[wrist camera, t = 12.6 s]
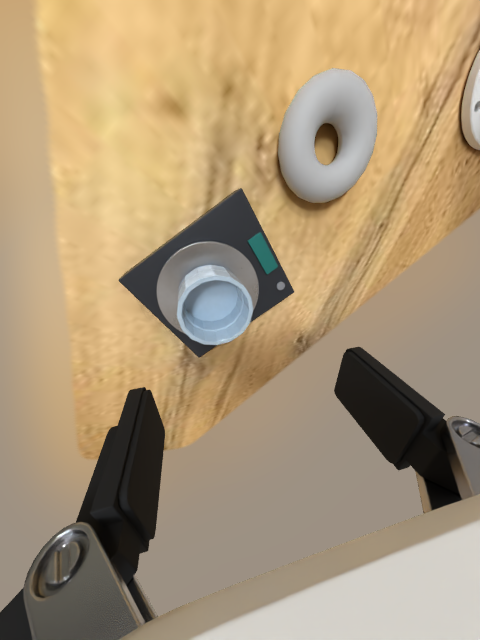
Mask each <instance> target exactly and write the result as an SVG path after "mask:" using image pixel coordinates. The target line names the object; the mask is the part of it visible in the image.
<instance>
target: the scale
mask: <svg viewBox="0 0 480 640" xmlns="http://www.w3.org/2000/svg"><path fill="white" fill-rule="evenodd" d="M200 241H216V242H221V243H224V244H227V245H229V246H232V247H233V248H235V249H236V250H238V251H239V252H241V253H242V254H243V255H244V256H245V257H246V258H247V259H248V260H249V262H250V263H251V264H252V266H253V268H254V270H255V272H256V275H257V279H258V284H259V294H258V300H257V303H256V306H255V308H254V311H253V313H252V317H251V321H250V322H252V321H253V320H255V319H256V318H257V317H259V316H260V315H262V314H263V313H265V312H266V311H268V310H269V309H270V308H272V307H273V306H275V305H276V304H278V303H279V302H281V301H282V300H284V299H285V298H286V297H288V296H289V295H291V294H292V293H294V290H293V288H292V286H291V284H290V282H289V280H288V278H287V276H286V274H285V273H284V271H283V269H282V267H281V265H280V263H279V261H278V259H277V257H276V255H275V253H274V251H273V249H272V247H271V245H270V243H269V241H268V239H267V237H266V235H265V233H264V231H263V229H262V227H261V225H260V223H259V221H258V219H257V218H256V216H255V214H254V212H253V210H252V208H251V206H250V204H249V202H248V200H247V198H246V196H245V194H244V192H243V190H242V189H238V190H236V191H234V192H233V193H231V194H230V195H229V196H227V197H226V198H225V199H223V200H222V201H221V202H219V203H218V204H217V205H215V206H214V207H213V208H211V209H210V210H209V211H207V212H206V213H205V214H203V215H202V216H201V217H199V218H198V219H197V220H195V221H194V222H193V223H191V224H190V225H189V226H187V227H186V228H185V229H183V230H182V231H181V232H179V233H178V234H177V235H175V236H174V237H173V238H171V239H170V240H169V241H167V242H166V243H165V244H163V245H162V246H161V247H159V248H158V249H157V250H155V251H154V252H153V253H151V254H150V255H149V256H147V257H146V258H145V259H143V260H142V261H141V262H139V263H138V264H137V265H135V266H134V267H133V268H131V269H130V270H129V271H127V272H126V273H125V274H124V275H123V276H122V277H121V278H120V279H119V282H120V283H121V284H123V285H124V286H125V287H126V288H127V289H128V290H129V291H130V292H131V293H132V294H133V295H134V296H135V297H136V298H137V299H138V300H139V301H140V302H141V303H142V304H143V305H145V306H146V307H147V308H148V309H149V310H150V311H151V312H152V313H153V314H154V315H155V316H156V317H157V318H158V319H159V320H160V321H161V322H162V323H163V324H164V325H165V326H166V327H168V328H169V329H170V330H171V331H172V332H173V333H174V334H175V335H176V336H177V337H178V338H179V339H180V340H181V341H182V342H183V343H184V344H185V345H186V346H187V347H188V348H190V349H191V350H192V351H193V352H194V353H195V354H196V355H197V356H198V357H201V356H202V355H204V354H205V353H207V352H208V351H210V350H211V349H212V348H214V347H215V346H217V345H206V344H202V343H199V342H197V341H195V340H192V339H191V338H190V337H189V336H188V335H187V334H185V333H183V332H181V331H179V330H178V329H176V328H175V327H174V326H172V325H171V324H170V323H169V322H168V320H167V319H166V318H165V316H164V315H163V313H162V311H161V309H160V307H159V304H158V300H157V281H158V278H159V274H160V272H161V270H162V268H163V266H164V264H165V263H166V261H167V260H168V259H169V258H170V256H171V255H173V254H174V253H175V252H176V251H177V250H179V249H181V248H182V247H184V246H186V245H188V244H191V243H195V242H200Z"/></svg>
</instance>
